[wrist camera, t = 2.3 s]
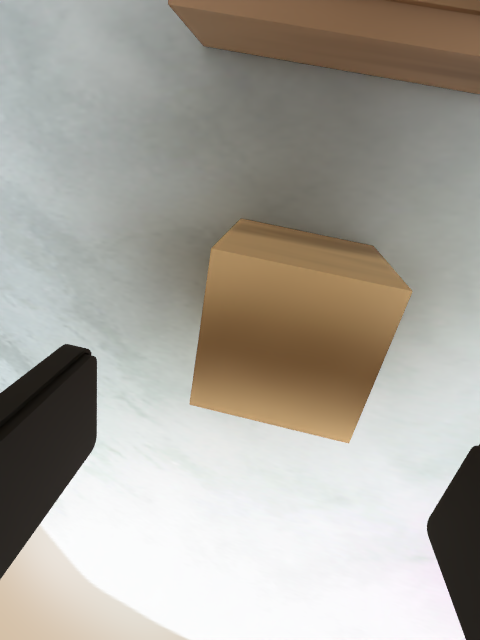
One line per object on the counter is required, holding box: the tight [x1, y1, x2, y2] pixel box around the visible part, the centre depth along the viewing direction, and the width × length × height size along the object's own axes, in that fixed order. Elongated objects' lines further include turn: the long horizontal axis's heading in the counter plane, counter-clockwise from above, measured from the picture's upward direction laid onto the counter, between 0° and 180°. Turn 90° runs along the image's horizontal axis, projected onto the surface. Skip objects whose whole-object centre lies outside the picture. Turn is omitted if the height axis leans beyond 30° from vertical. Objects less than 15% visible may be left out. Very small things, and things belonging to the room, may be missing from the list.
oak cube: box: [190, 219, 412, 443], centre depth 14 cm, size 6×6×6 cm
